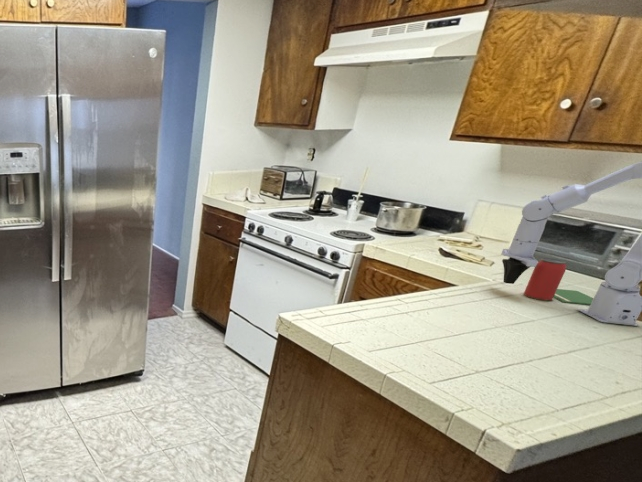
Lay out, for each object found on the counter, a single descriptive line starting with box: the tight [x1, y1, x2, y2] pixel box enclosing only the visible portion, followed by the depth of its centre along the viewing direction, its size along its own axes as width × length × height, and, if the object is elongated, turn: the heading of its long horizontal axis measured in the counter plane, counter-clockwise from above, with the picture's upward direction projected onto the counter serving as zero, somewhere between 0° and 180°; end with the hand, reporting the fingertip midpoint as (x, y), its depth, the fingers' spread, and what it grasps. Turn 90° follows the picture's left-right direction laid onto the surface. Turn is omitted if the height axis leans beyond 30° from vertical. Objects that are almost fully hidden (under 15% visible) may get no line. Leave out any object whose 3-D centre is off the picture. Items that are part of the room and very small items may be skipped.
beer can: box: [523, 257, 567, 301], centre depth 144 cm, size 7×7×12 cm
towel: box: [553, 288, 594, 306], centre depth 147 cm, size 14×11×1 cm
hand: (508, 282), depth 147 cm, fingers closed
